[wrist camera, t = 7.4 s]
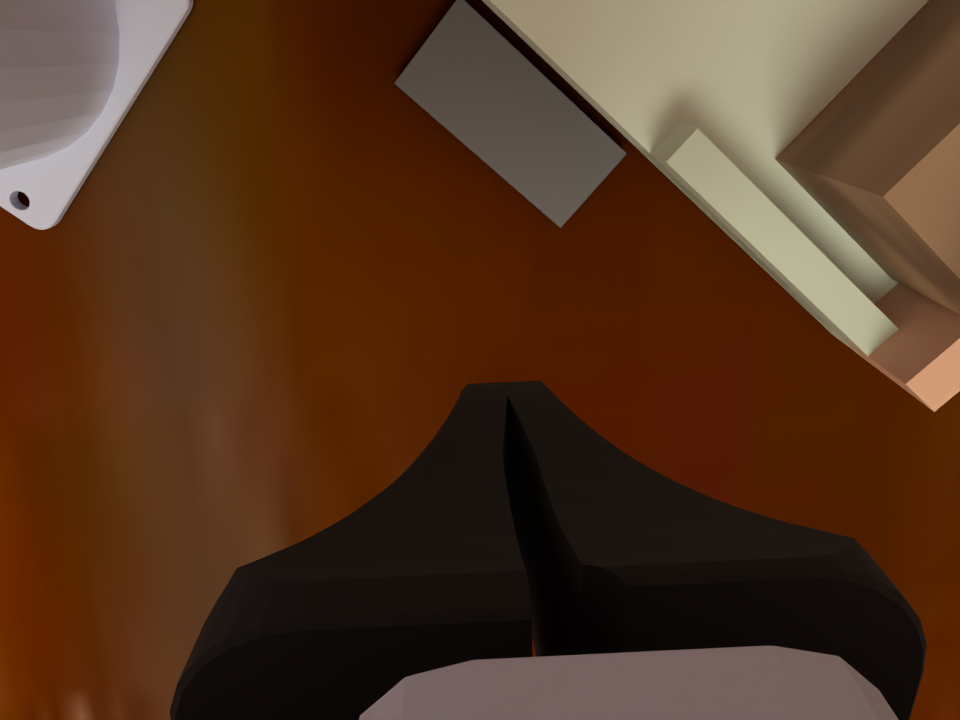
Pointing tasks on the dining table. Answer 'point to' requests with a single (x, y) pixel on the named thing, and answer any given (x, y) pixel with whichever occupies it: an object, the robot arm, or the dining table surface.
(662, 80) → the trap lane
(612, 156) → the mats
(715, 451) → the dining table surface
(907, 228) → the walnut block
